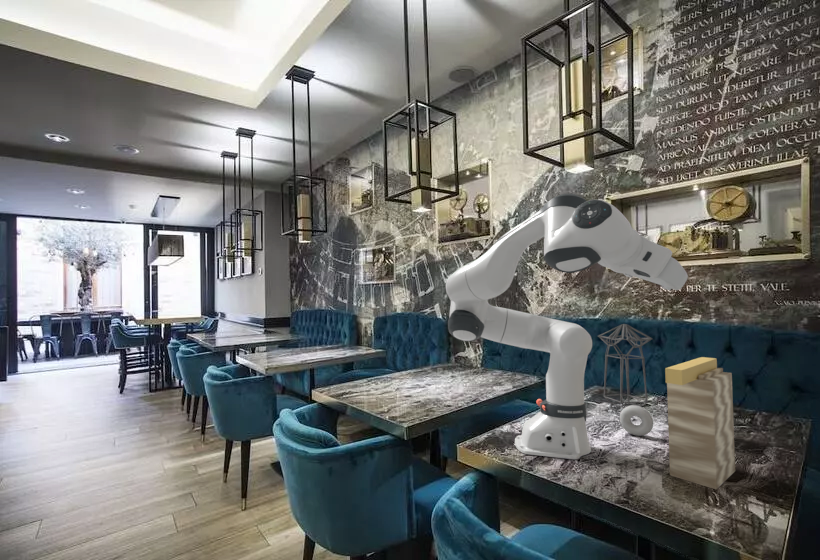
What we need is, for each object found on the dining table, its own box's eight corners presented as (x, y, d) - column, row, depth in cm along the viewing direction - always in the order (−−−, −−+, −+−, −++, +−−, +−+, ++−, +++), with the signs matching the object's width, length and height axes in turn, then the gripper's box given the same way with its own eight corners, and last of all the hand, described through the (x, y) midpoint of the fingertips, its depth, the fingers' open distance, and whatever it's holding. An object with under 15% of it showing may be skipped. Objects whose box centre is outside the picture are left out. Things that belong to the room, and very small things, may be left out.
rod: (682, 385, 95) (681, 370, 95) (665, 382, 98) (665, 368, 98) (717, 371, 111) (716, 358, 111) (702, 369, 114) (701, 357, 114)
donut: (618, 433, 137) (618, 404, 137) (621, 431, 140) (620, 401, 140) (653, 440, 131) (652, 409, 131) (654, 437, 133) (653, 406, 134)
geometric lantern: (596, 407, 169) (594, 323, 171) (625, 404, 174) (624, 322, 176) (626, 417, 154) (624, 325, 156) (658, 414, 159) (655, 324, 161)
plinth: (716, 489, 98) (712, 377, 99) (669, 475, 106) (666, 371, 107) (735, 471, 108) (731, 369, 109) (691, 459, 116) (688, 364, 117)
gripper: (577, 252, 96) (604, 278, 104) (661, 278, 79) (685, 307, 87) (592, 230, 96) (617, 257, 104) (678, 251, 79) (701, 282, 87)
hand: (649, 280), depth 95 cm, fingers open, 8 cm apart
